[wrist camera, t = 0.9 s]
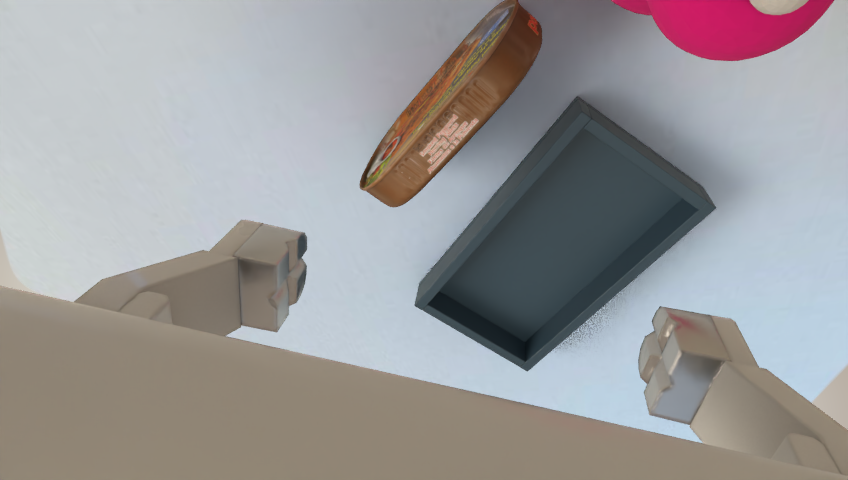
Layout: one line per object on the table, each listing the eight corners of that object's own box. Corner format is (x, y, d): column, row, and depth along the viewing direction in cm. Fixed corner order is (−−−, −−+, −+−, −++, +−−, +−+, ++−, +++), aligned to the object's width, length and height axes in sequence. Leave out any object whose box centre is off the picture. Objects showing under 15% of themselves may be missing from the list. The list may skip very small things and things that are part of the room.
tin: (511, -18, 34) (512, 9, 27) (547, 18, 35) (557, 52, 28) (369, 150, 41) (341, 205, 34) (402, 176, 42) (381, 234, 35)
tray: (419, 283, 47) (414, 305, 45) (577, 96, 37) (582, 111, 35) (526, 347, 50) (527, 371, 47) (703, 187, 39) (716, 207, 37)
